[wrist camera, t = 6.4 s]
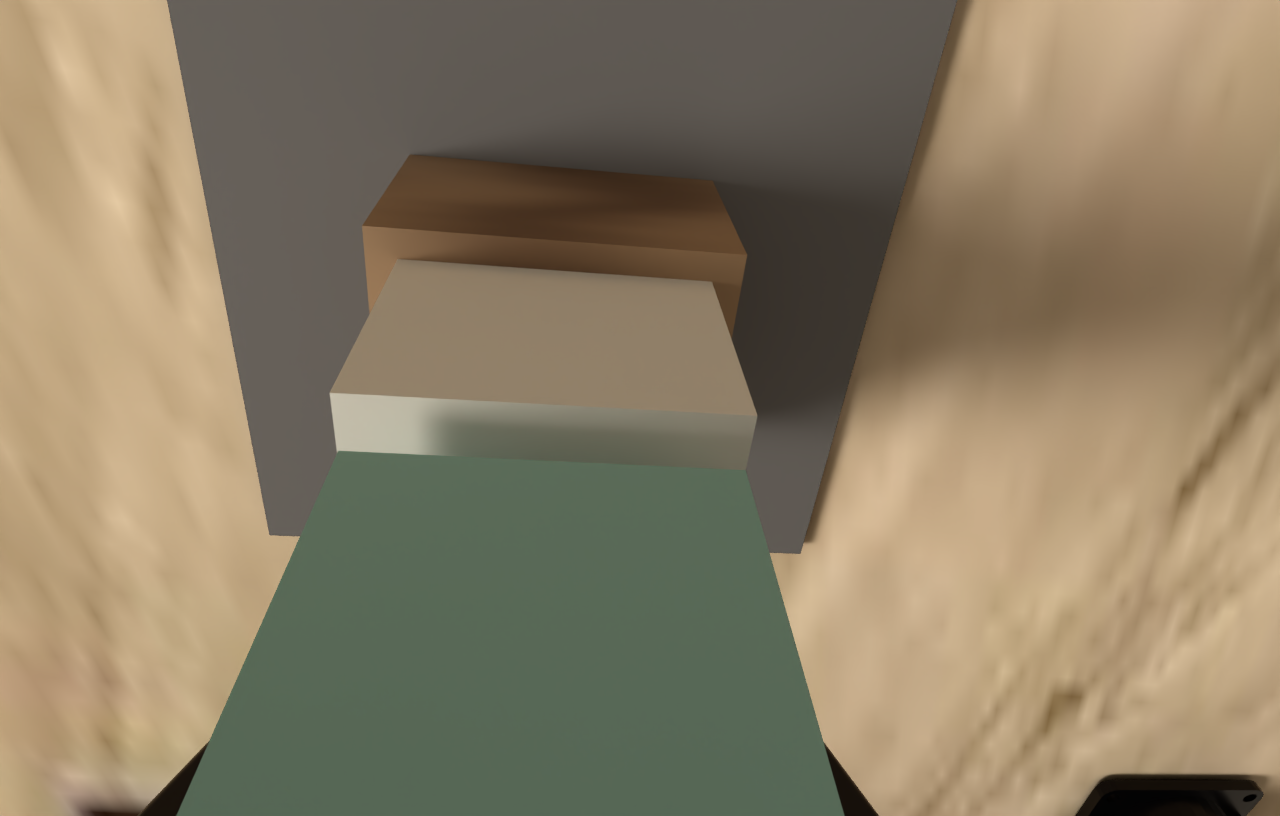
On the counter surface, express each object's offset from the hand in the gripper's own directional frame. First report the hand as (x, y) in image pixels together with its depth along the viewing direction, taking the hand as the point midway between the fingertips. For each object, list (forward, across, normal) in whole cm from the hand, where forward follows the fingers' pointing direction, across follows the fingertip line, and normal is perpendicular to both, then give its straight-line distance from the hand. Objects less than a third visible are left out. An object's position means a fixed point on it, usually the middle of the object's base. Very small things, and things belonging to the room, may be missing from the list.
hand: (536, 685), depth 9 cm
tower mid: (+6, 0, 0) cm, 6 cm away
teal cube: (+1, 0, 0) cm, 1 cm away
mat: (+10, 0, 0) cm, 10 cm away
